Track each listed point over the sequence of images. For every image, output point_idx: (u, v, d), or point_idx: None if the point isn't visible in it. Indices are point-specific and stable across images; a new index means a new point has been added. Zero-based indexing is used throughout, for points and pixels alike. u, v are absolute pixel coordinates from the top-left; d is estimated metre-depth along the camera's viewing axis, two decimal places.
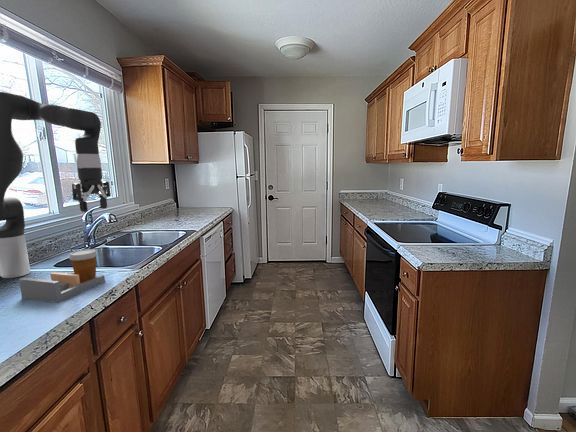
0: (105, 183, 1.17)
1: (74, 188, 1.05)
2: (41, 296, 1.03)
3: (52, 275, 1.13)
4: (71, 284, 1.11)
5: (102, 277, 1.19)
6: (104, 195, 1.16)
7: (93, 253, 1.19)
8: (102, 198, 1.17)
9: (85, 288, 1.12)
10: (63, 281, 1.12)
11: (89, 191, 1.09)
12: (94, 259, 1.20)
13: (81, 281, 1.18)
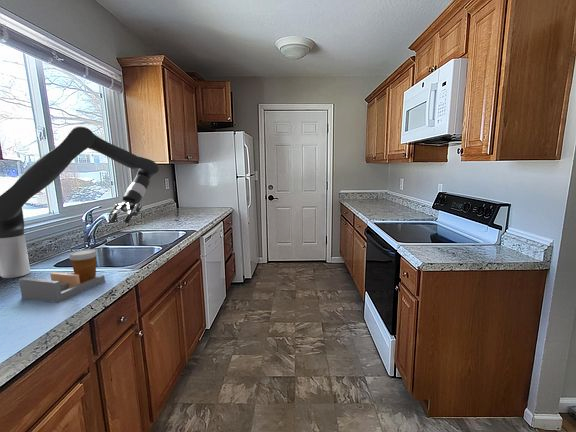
0: (119, 205, 1.44)
1: (138, 206, 1.39)
2: (41, 296, 1.03)
3: (52, 275, 1.13)
4: (71, 284, 1.11)
5: (102, 277, 1.19)
6: None
7: (93, 253, 1.19)
8: (116, 215, 1.39)
9: (85, 288, 1.12)
10: (63, 281, 1.12)
11: None
12: (94, 259, 1.20)
13: (81, 281, 1.18)
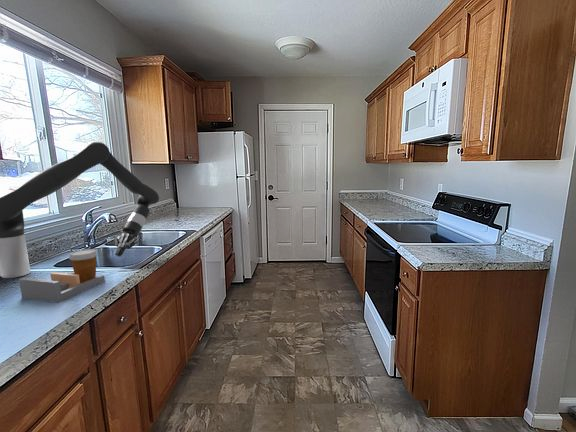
0: None
1: (134, 241, 1.39)
2: (41, 296, 1.03)
3: (52, 275, 1.13)
4: (71, 284, 1.11)
5: (102, 277, 1.19)
6: None
7: (93, 253, 1.19)
8: None
9: (85, 288, 1.12)
10: (63, 281, 1.12)
11: None
12: (94, 259, 1.20)
13: (81, 281, 1.18)
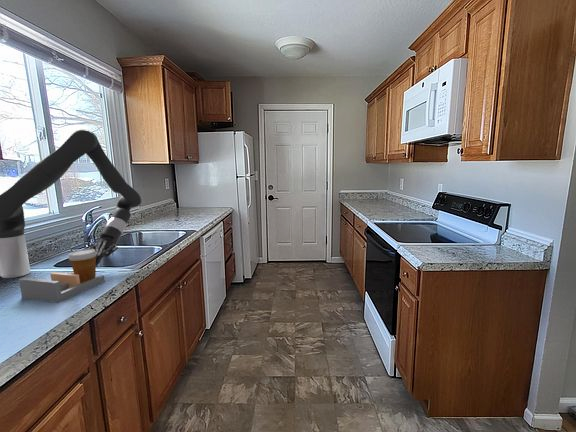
0: None
1: (112, 249, 1.27)
2: (41, 296, 1.03)
3: (52, 275, 1.13)
4: (71, 284, 1.11)
5: (102, 277, 1.19)
6: None
7: (92, 253, 1.19)
8: None
9: (85, 288, 1.12)
10: (63, 281, 1.12)
11: None
12: (93, 259, 1.20)
13: (81, 281, 1.18)
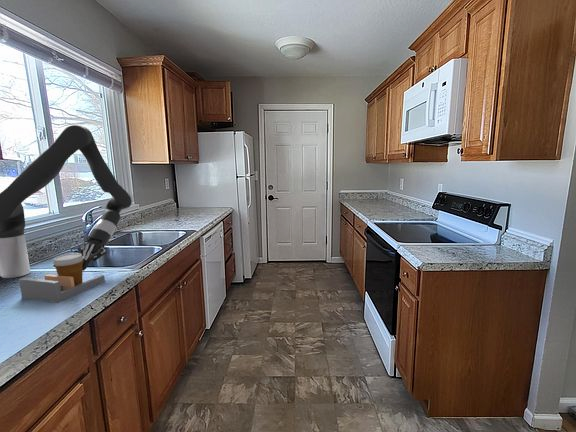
0: (83, 249, 1.25)
1: (100, 253, 1.21)
2: (41, 296, 1.03)
3: (46, 277, 1.10)
4: (65, 286, 1.09)
5: (102, 277, 1.19)
6: None
7: (79, 258, 1.13)
8: None
9: (85, 288, 1.12)
10: None
11: None
12: (80, 264, 1.14)
13: None
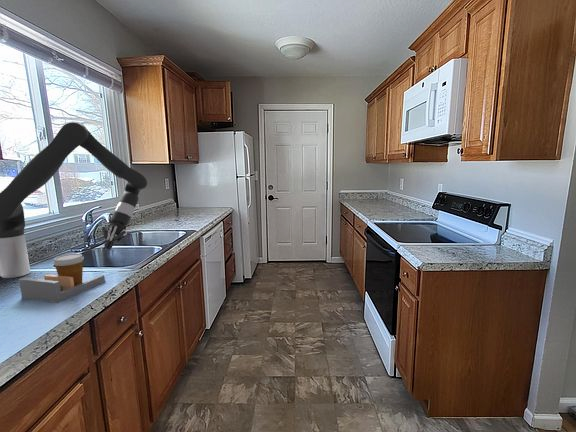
0: None
1: (123, 235, 1.34)
2: (41, 296, 1.03)
3: (46, 277, 1.10)
4: (65, 286, 1.09)
5: (102, 277, 1.19)
6: None
7: (79, 258, 1.13)
8: None
9: (85, 288, 1.12)
10: None
11: None
12: (80, 264, 1.14)
13: None
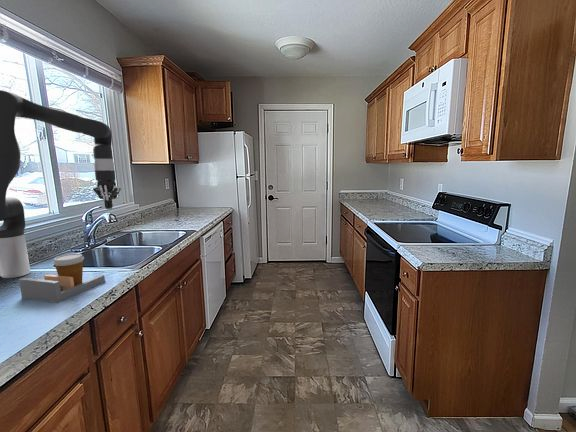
0: None
1: (116, 192, 1.31)
2: (41, 296, 1.03)
3: (46, 277, 1.10)
4: (65, 286, 1.09)
5: (102, 277, 1.19)
6: None
7: (79, 258, 1.13)
8: None
9: (85, 288, 1.12)
10: None
11: None
12: (80, 264, 1.14)
13: None
